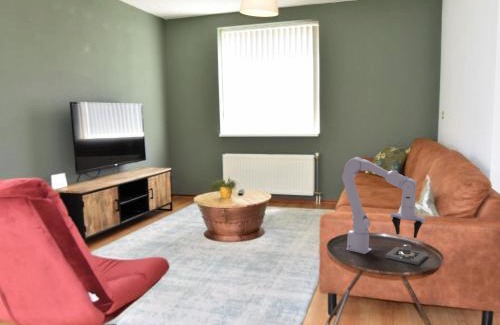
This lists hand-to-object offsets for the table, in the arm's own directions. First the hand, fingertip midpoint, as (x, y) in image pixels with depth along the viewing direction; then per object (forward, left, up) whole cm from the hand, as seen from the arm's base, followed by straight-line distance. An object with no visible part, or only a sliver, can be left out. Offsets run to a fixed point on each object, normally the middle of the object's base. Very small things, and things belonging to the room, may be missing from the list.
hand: (406, 235), depth 183 cm
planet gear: (0, 0, -10) cm, 10 cm away
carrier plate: (0, 0, -10) cm, 10 cm away
